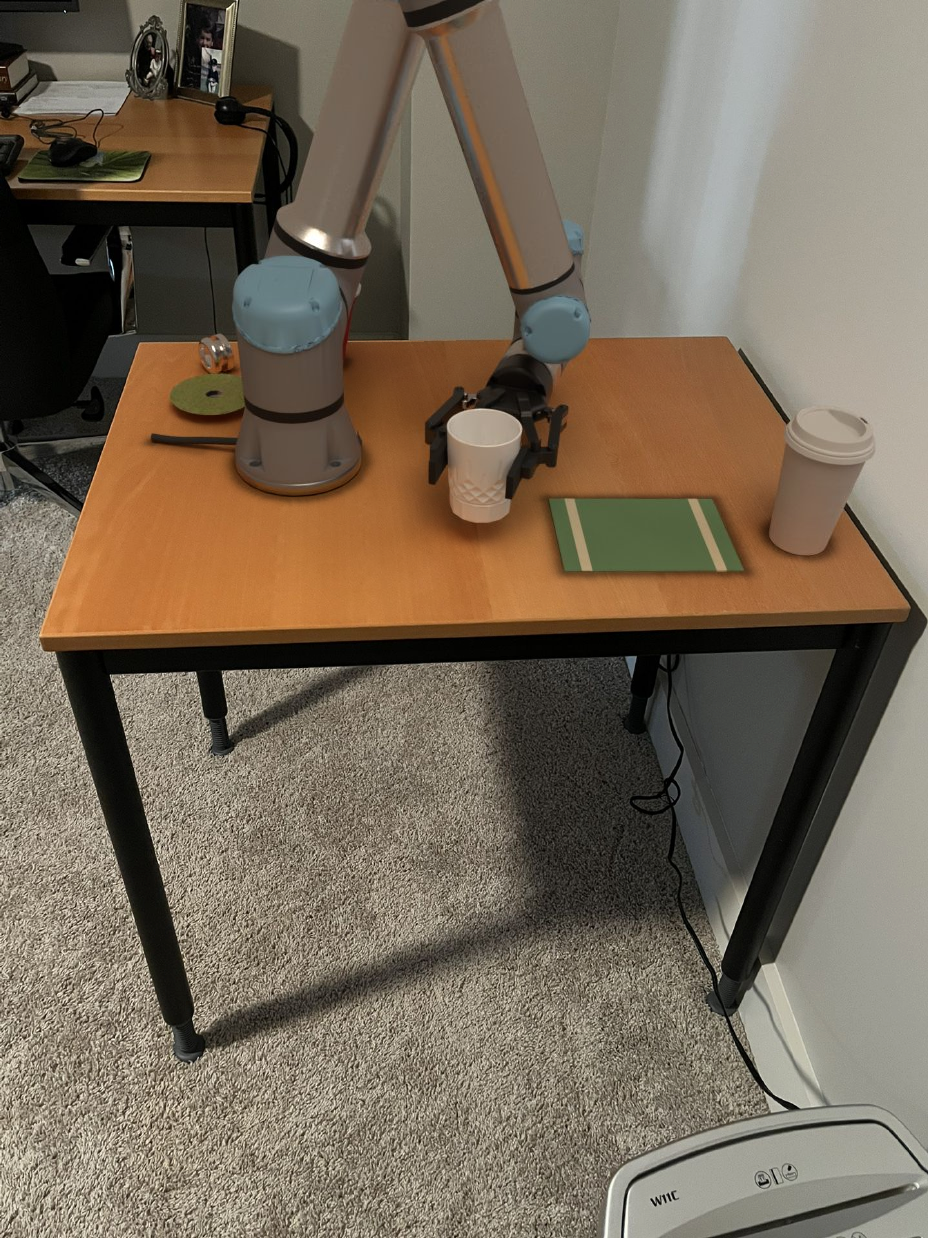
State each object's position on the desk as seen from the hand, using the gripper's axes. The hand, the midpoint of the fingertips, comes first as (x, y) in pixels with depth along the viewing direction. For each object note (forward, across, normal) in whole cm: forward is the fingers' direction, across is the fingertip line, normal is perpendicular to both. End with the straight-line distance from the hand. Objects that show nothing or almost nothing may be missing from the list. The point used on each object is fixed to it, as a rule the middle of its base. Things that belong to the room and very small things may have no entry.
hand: (470, 480), depth 102 cm
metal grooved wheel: (-30, +45, -10) cm, 55 cm away
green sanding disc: (-21, +41, -10) cm, 47 cm away
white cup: (-5, 0, -6) cm, 8 cm away
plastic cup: (-38, +32, -10) cm, 51 cm away
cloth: (-11, -18, -10) cm, 23 cm away
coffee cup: (-17, -35, -11) cm, 40 cm away
